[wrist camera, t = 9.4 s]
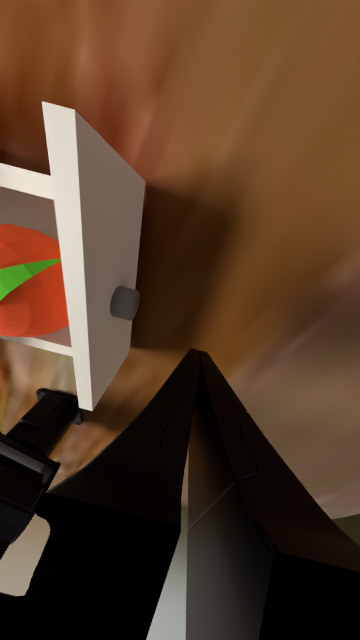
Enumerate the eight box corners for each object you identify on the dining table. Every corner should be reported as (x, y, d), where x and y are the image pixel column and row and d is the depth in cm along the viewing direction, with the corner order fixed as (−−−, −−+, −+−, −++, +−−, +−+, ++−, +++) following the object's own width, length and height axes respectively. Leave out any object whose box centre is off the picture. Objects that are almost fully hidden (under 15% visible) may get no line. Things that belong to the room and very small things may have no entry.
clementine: (80, 200, 11) (-78, 152, 5) (132, 291, 14) (74, 336, 7) (10, 251, 13) (-161, 264, 7) (66, 321, 16) (-23, 375, 10)
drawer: (139, 355, 18) (108, 415, 12) (17, 323, 18) (-78, 367, 12) (162, 186, 11) (114, 120, 5) (-40, 133, 11) (-346, 2, 5)
